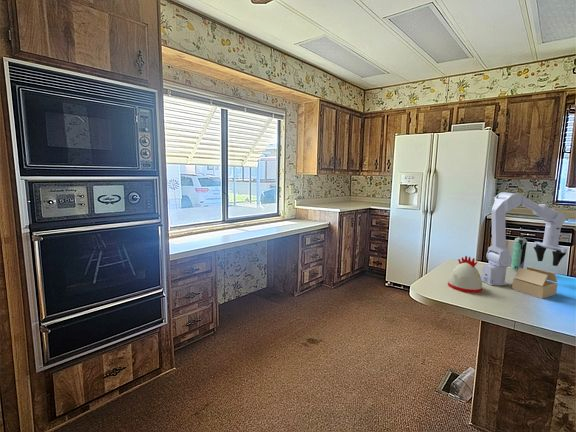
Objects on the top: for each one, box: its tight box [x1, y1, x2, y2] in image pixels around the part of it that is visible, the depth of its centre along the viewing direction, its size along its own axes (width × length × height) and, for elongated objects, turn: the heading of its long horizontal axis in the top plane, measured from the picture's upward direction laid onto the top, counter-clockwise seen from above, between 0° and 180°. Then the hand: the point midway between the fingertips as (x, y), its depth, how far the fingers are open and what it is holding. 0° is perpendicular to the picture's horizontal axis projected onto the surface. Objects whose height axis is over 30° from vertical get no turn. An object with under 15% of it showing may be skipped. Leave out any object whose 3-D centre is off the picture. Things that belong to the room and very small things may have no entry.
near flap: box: [513, 267, 548, 286], centre depth 141 cm, size 6×11×1 cm
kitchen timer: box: [447, 255, 483, 294], centre depth 146 cm, size 14×14×15 cm
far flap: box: [526, 265, 558, 283], centre depth 145 cm, size 6×11×1 cm
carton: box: [511, 277, 559, 300], centre depth 144 cm, size 12×12×5 cm
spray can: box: [510, 234, 528, 272], centre depth 174 cm, size 6×6×20 cm
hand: (547, 263), depth 154 cm, fingers open, 7 cm apart
